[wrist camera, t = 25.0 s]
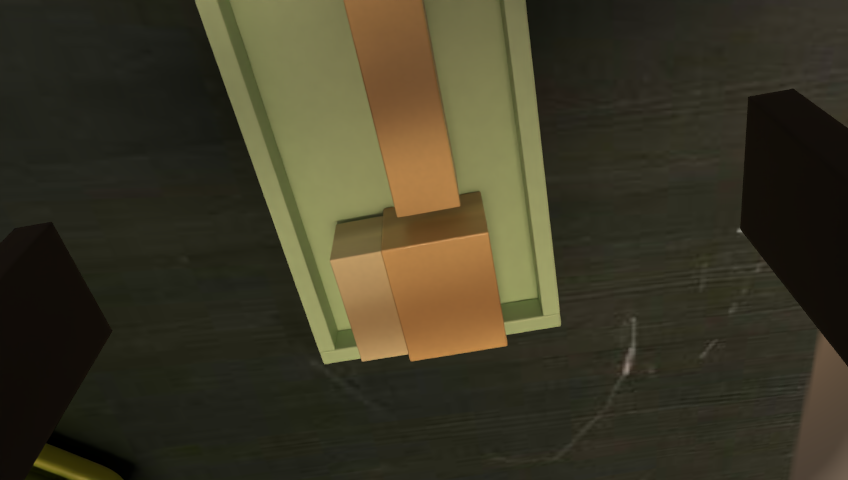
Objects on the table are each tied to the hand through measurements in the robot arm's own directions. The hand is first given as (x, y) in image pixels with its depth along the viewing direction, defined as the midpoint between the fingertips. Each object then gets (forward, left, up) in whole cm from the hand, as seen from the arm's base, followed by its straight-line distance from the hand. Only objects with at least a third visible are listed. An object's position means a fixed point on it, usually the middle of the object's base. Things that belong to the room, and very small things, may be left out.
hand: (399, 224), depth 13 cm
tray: (+1, +4, -16) cm, 16 cm away
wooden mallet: (+1, +4, -16) cm, 16 cm away
